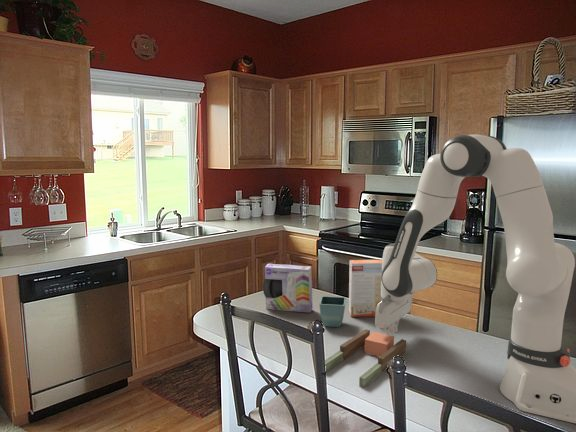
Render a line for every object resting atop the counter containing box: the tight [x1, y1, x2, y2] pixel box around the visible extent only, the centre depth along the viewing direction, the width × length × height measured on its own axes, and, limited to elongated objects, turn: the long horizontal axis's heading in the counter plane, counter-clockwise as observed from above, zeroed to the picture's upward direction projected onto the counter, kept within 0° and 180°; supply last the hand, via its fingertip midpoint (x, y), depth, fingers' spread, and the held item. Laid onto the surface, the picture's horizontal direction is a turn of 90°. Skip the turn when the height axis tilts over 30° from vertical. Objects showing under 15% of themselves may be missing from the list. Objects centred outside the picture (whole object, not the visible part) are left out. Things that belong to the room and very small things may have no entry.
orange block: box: [364, 331, 395, 357], centre depth 139 cm, size 7×7×4 cm
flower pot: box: [318, 295, 347, 328], centre depth 160 cm, size 9×9×9 cm
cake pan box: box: [262, 263, 314, 313], centre depth 174 cm, size 19×5×18 cm, turn 73°
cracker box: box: [348, 259, 382, 318], centre depth 169 cm, size 14×6×21 cm, turn 92°
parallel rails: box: [324, 328, 407, 389], centre depth 132 cm, size 14×26×4 cm, turn 142°
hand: (392, 332), depth 147 cm, fingers closed
